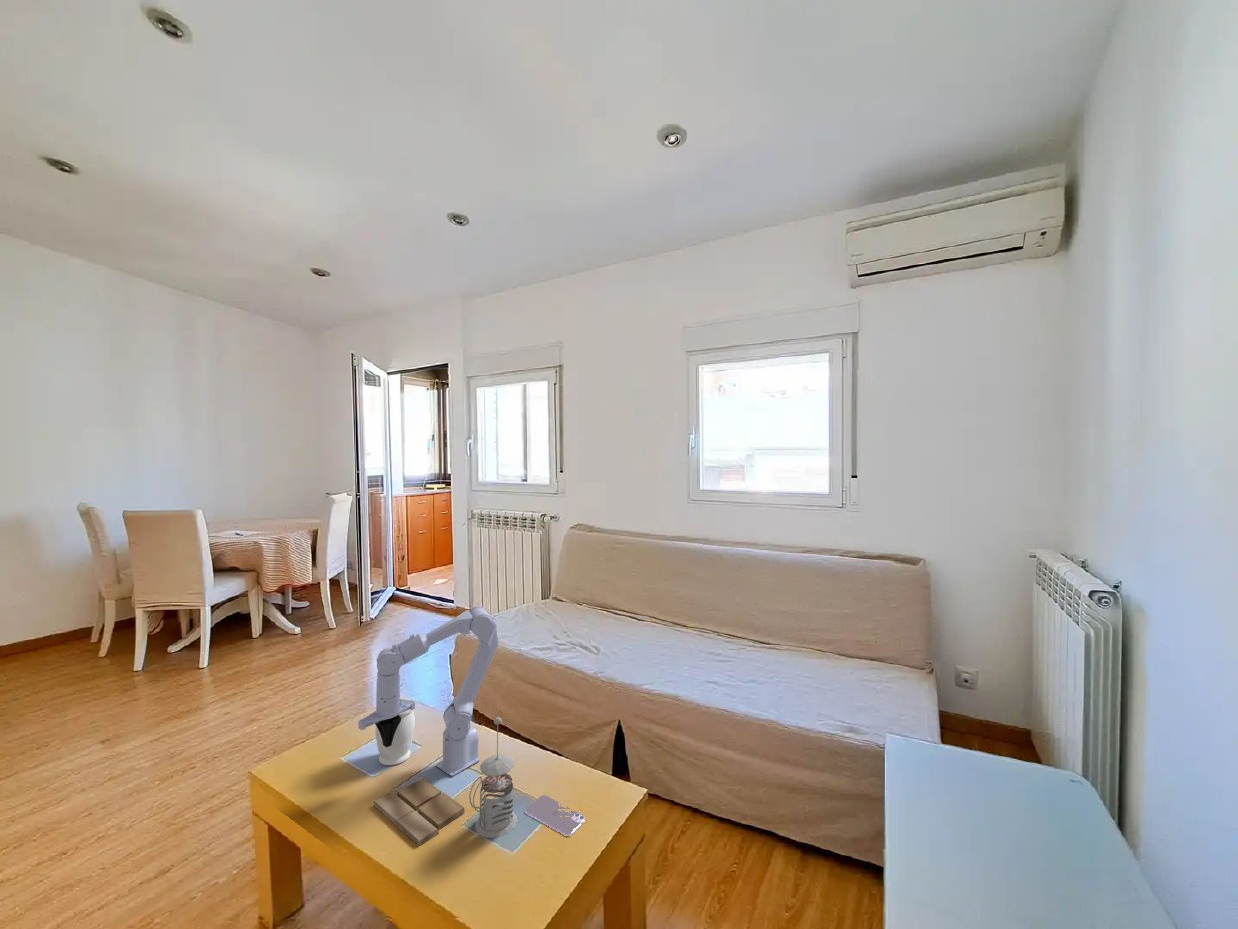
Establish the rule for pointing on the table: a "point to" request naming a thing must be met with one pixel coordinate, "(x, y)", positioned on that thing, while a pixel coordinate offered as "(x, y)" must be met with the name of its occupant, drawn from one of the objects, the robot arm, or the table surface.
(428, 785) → the plank
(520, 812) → the table surface
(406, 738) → the jar
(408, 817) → the laid board
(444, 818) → the plank
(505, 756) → the french press
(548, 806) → the mobile phone
